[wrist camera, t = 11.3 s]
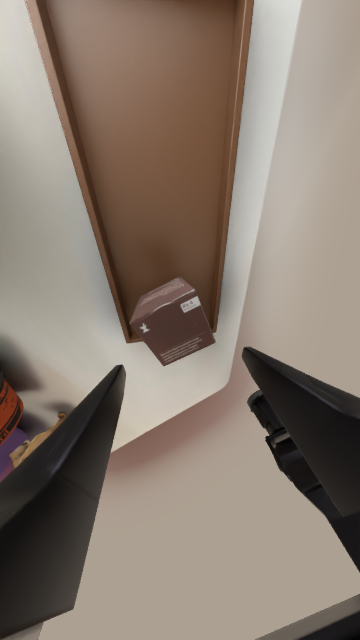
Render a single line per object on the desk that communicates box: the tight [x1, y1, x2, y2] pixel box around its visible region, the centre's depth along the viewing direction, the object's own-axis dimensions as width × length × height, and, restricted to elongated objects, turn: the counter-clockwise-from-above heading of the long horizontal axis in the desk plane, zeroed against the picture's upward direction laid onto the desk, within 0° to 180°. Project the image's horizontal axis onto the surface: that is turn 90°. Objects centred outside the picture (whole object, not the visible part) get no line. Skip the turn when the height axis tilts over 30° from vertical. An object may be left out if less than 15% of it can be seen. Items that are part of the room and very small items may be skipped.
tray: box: [25, 0, 254, 343], centre depth 13 cm, size 13×27×2 cm, turn 2°
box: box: [130, 277, 215, 366], centre depth 15 cm, size 6×6×7 cm
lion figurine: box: [9, 413, 66, 469], centre depth 23 cm, size 15×5×9 cm, turn 177°
